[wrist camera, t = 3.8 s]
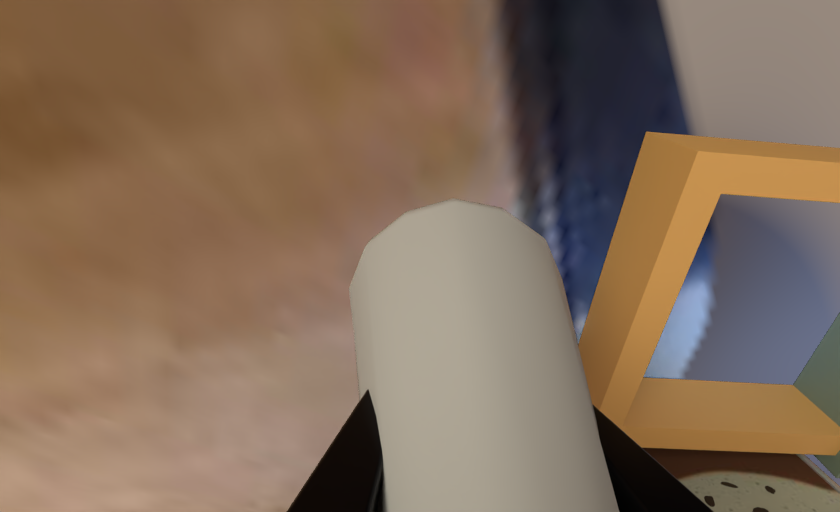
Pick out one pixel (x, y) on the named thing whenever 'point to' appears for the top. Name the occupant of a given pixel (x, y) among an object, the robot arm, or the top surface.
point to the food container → (751, 480)
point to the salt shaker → (474, 368)
